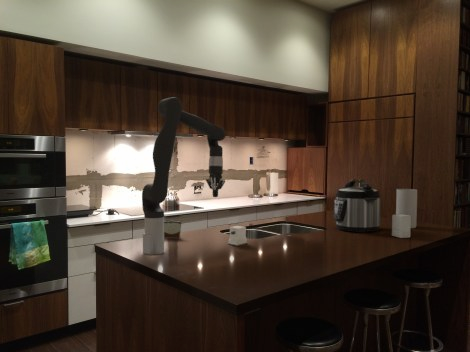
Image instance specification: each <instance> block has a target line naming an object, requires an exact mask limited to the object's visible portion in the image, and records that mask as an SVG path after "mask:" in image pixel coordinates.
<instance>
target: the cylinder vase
mask: <svg viewBox="0 0 470 352" xmlns="http://www.w3.org/2000/svg"><path fill="white" fill-rule="evenodd" d="M395 202H396V206H395V207H396V208H395V215H397V214H403V215H409V216H411V228H410V229H415V228H417V214H418V213H417V212H418V211H417V209H418V189H414V188H412V189H411V188H396V201H395Z"/></svg>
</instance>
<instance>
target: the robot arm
mask: <svg viewBox="0 0 470 352" xmlns="http://www.w3.org/2000/svg"><path fill="white" fill-rule="evenodd" d="M157 111H158V113H159V115H161V116H162V117H164V122H163V124H162V125H163V126H162V127H161V129H160V131H159V133H158V134H157V136H156V138H155V141H154V145H153V150H152V160H153V166H154V176H153V182H151V183H150V182H149V183H146V184H145V185H144V187H143V188H142V193H141V203H142V204H141V205H142V211H143V214H144V215H143V216H144V218H143V219H144V232H143V233H142V253H143V254H145V255H147V256H148V255H149V256H152V255H153V256H154V255H161V254H164V253H165V238H164V220H165V212H164V209H162V207H161V204H162V203H163V202H164V201H165V200H166V199H167V197H168V188H169V176H170V175H169V174H170V170H171V164H172V163H171V162H172V158H173V153H174V148H175V140H176V135H177V131H178V126H179V123H180V124H183V125H185V126H187V127H189V128H191V129H192V130H193V131H196V132H198V133H200V134H201V135H205V136H206V139H207V145H208V147H209V157H208V174H209V176H208V177H209V178H208V179H207V178H206V179H205V182H206V183H207V185H208V187H209V189H211V190H212V198H217V197H219V190H222V188H223V186H224V184H225V183H226V180H225V179H223V175H222V174H223V172H224V169H223V167H224V165H223V164H224V163H223V162H224V161H223V160H224V158H223V151H224V150H223V147H222V145H219V142H221V141H223V140H225V138H226V130H225V129H224V128H222V127H221V126H219V125H217V124H213V123H210V122H208V121H207V120H205V119H204V118H202V117H200V116H197V115H195V114H191V113H189V112H186V111H184V110H183V102H182V101H181V100H180V99H179V98H178V97H176V96H175V97H173V96H172V97H167V98H164V99H161V100H159V102H158V104H157Z"/></svg>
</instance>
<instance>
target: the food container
mask: <svg viewBox="0 0 470 352" xmlns="http://www.w3.org/2000/svg"><path fill="white" fill-rule="evenodd" d="M182 224H183V222H182V219H179V218H168V219H167V218H166V219H165V218H164V239H180V238H181V231H182V230H181V229H182Z"/></svg>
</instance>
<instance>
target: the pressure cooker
mask: <svg viewBox="0 0 470 352" xmlns="http://www.w3.org/2000/svg"><path fill="white" fill-rule="evenodd" d="M356 183H359V184H360V185H361V186H354V185H355V184H356ZM335 195H336V196H335V198H334V204H333V218H334V220H335V224H336V225H335V226H336V227H337V228H338V229H339V230H342V231H347V232H353V233H365V232H367V233H368V232H376V231H378V230H379V227H380V226H381V194H380V191H379V190H377V189H374V188H373V187H372V185H371V184H369V183H367V182H365V181H364V180H360V179H354V180H353V179H352V180H351V181H348V182H346V183H345V186H344V187H343V188H339V189H337V193H336V194H335Z"/></svg>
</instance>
